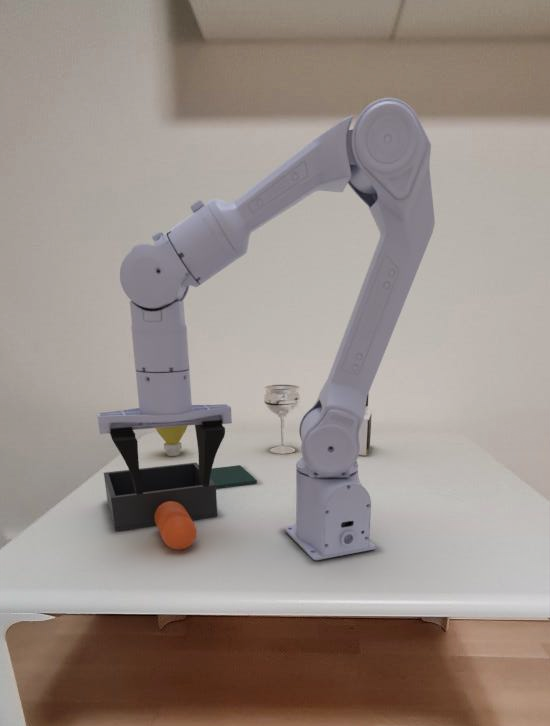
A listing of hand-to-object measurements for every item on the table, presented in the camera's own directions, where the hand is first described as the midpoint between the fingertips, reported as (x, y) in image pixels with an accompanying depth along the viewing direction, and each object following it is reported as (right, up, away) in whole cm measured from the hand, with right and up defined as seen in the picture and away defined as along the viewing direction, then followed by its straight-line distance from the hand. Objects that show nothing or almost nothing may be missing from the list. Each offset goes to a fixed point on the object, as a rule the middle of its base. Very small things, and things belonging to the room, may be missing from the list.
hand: (172, 487), depth 64 cm
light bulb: (-8, +7, +38) cm, 39 cm away
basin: (-4, -3, +12) cm, 13 cm away
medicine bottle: (+25, +8, +41) cm, 49 cm away
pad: (+2, +2, +24) cm, 24 cm away
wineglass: (+12, +8, +41) cm, 43 cm away
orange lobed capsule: (0, -6, +2) cm, 7 cm away
